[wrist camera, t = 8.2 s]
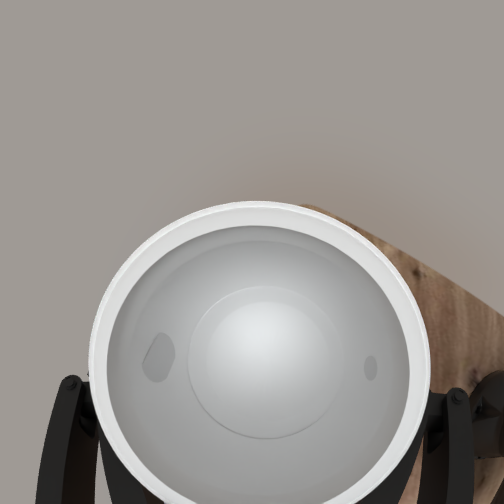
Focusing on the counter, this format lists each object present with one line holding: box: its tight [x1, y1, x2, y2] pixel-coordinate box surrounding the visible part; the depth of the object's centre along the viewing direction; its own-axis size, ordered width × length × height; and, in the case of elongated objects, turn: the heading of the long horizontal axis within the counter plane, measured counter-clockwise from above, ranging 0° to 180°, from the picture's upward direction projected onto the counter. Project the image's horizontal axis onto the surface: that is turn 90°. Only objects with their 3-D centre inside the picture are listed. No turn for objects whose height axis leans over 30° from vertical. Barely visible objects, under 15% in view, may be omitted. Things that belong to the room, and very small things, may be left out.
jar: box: [88, 201, 430, 504], centre depth 13 cm, size 11×10×15 cm
